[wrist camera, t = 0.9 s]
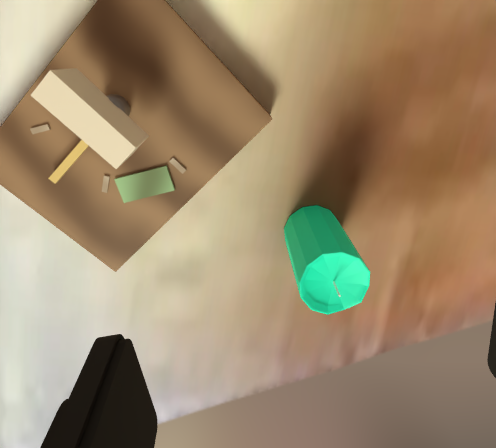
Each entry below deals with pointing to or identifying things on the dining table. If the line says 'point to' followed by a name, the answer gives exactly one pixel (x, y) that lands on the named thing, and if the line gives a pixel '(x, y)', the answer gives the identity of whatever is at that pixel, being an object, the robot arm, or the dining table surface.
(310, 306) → the candle
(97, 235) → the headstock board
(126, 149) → the wooden toy mallet
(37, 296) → the dining table surface
